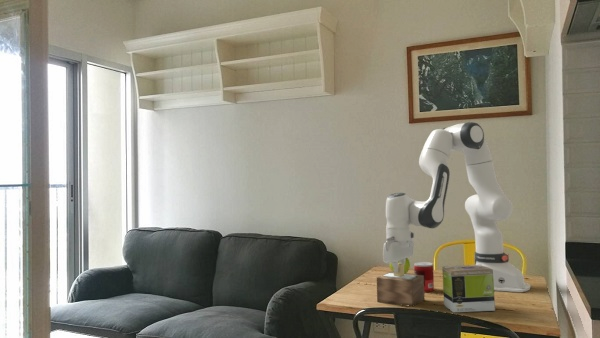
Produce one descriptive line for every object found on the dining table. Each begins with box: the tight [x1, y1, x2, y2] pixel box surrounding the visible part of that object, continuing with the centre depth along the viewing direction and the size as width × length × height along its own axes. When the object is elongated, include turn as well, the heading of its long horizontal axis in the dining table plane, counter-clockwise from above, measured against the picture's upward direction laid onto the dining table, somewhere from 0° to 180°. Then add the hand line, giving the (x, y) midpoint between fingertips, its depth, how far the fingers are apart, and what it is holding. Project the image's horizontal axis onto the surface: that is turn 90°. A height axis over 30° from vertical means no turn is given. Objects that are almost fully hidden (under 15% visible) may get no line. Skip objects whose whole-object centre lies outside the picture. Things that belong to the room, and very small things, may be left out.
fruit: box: [388, 257, 411, 274], centre depth 236 cm, size 9×9×10 cm
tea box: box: [441, 264, 496, 313], centre depth 174 cm, size 15×10×15 cm, turn 92°
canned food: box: [413, 261, 435, 293], centre depth 203 cm, size 8×8×11 cm
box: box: [376, 271, 425, 307], centre depth 187 cm, size 14×12×9 cm
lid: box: [382, 263, 416, 280], centre depth 187 cm, size 12×9×7 cm
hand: (398, 271), depth 187 cm, fingers closed on lid, 3 cm apart
